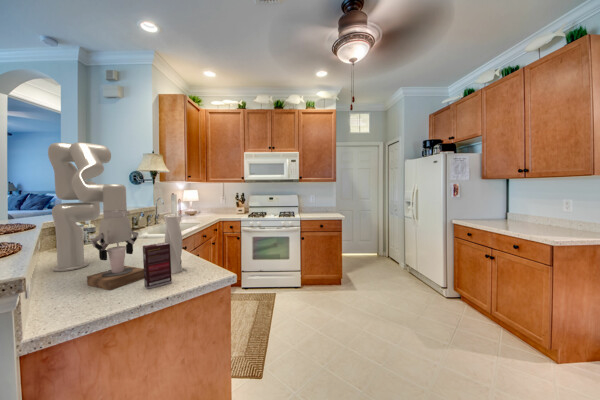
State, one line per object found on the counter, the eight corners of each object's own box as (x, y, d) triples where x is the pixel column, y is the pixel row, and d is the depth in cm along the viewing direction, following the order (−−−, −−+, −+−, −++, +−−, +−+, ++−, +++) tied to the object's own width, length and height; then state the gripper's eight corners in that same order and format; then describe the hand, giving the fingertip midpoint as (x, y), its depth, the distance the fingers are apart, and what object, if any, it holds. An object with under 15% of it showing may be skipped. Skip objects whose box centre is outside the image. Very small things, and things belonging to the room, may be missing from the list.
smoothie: (131, 268, 101) (129, 235, 100) (118, 274, 94) (116, 238, 94) (117, 268, 101) (115, 235, 101) (103, 273, 95) (101, 238, 94)
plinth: (87, 285, 94) (87, 275, 94) (124, 273, 107) (124, 264, 107) (110, 290, 89) (109, 279, 88) (146, 277, 102) (146, 268, 101)
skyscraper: (188, 271, 109) (186, 210, 108) (169, 276, 103) (167, 211, 102) (180, 268, 115) (178, 209, 114) (162, 272, 109) (160, 211, 108)
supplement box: (168, 280, 98) (166, 241, 98) (172, 283, 95) (170, 243, 94) (143, 286, 92) (142, 245, 92) (146, 289, 89) (145, 247, 88)
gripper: (131, 212, 106) (132, 251, 107) (84, 216, 90) (86, 261, 91) (142, 213, 103) (144, 252, 104) (96, 217, 87) (98, 263, 88)
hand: (117, 256), depth 97 cm, fingers open, 9 cm apart
